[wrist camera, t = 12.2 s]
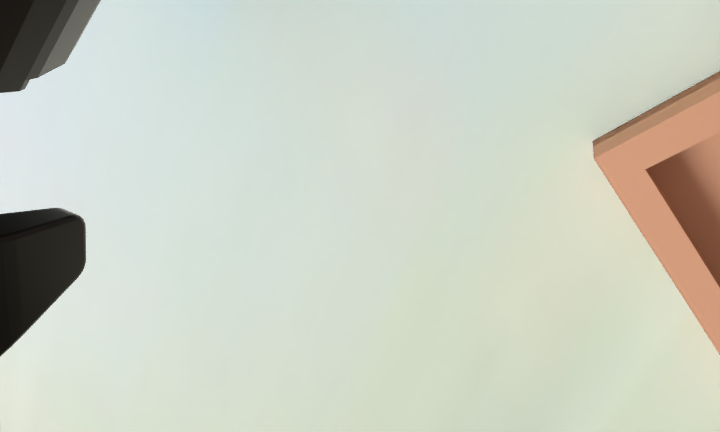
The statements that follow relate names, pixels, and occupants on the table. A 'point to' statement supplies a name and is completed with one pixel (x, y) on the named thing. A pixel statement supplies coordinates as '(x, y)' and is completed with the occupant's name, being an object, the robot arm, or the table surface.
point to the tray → (675, 190)
